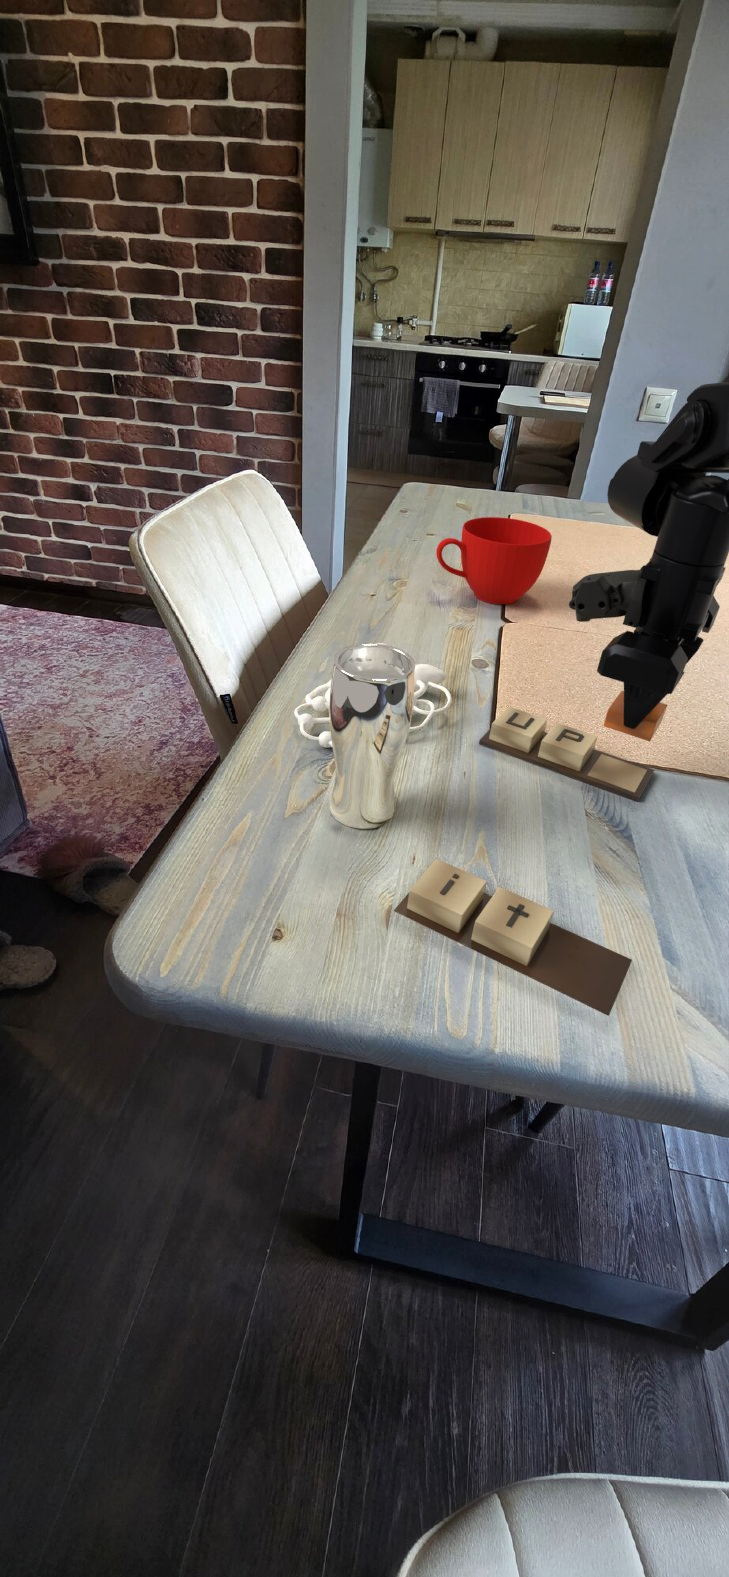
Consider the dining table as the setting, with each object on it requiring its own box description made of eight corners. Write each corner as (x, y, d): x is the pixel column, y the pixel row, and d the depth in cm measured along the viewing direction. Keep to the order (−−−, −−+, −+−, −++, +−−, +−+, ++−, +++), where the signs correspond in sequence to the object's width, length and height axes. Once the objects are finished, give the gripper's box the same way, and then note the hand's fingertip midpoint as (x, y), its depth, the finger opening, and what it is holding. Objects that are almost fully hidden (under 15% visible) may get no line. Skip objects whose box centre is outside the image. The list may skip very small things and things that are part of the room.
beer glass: (402, 790, 70) (419, 646, 62) (397, 837, 65) (416, 686, 56) (330, 782, 71) (337, 638, 62) (319, 828, 65) (325, 676, 56)
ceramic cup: (418, 582, 115) (425, 517, 110) (517, 579, 119) (529, 516, 114) (445, 616, 105) (455, 546, 100) (552, 611, 109) (568, 544, 104)
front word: (630, 963, 55) (640, 939, 53) (606, 1019, 51) (616, 995, 49) (428, 872, 61) (432, 848, 60) (392, 914, 57) (395, 890, 56)
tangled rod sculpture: (370, 785, 73) (375, 752, 70) (261, 724, 78) (262, 691, 76) (467, 707, 85) (475, 677, 83) (367, 659, 91) (371, 629, 88)
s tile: (661, 722, 72) (668, 703, 71) (649, 742, 69) (656, 722, 67) (616, 707, 74) (621, 689, 72) (602, 726, 70) (608, 707, 69)
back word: (653, 773, 76) (660, 752, 74) (637, 802, 72) (645, 780, 70) (501, 720, 82) (505, 700, 81) (478, 743, 78) (482, 722, 77)
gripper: (624, 511, 71) (585, 658, 80) (559, 560, 58) (521, 729, 67) (745, 537, 67) (689, 689, 76) (705, 596, 54) (643, 772, 63)
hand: (636, 716), depth 71 cm, fingers closed on s tile, 4 cm apart
